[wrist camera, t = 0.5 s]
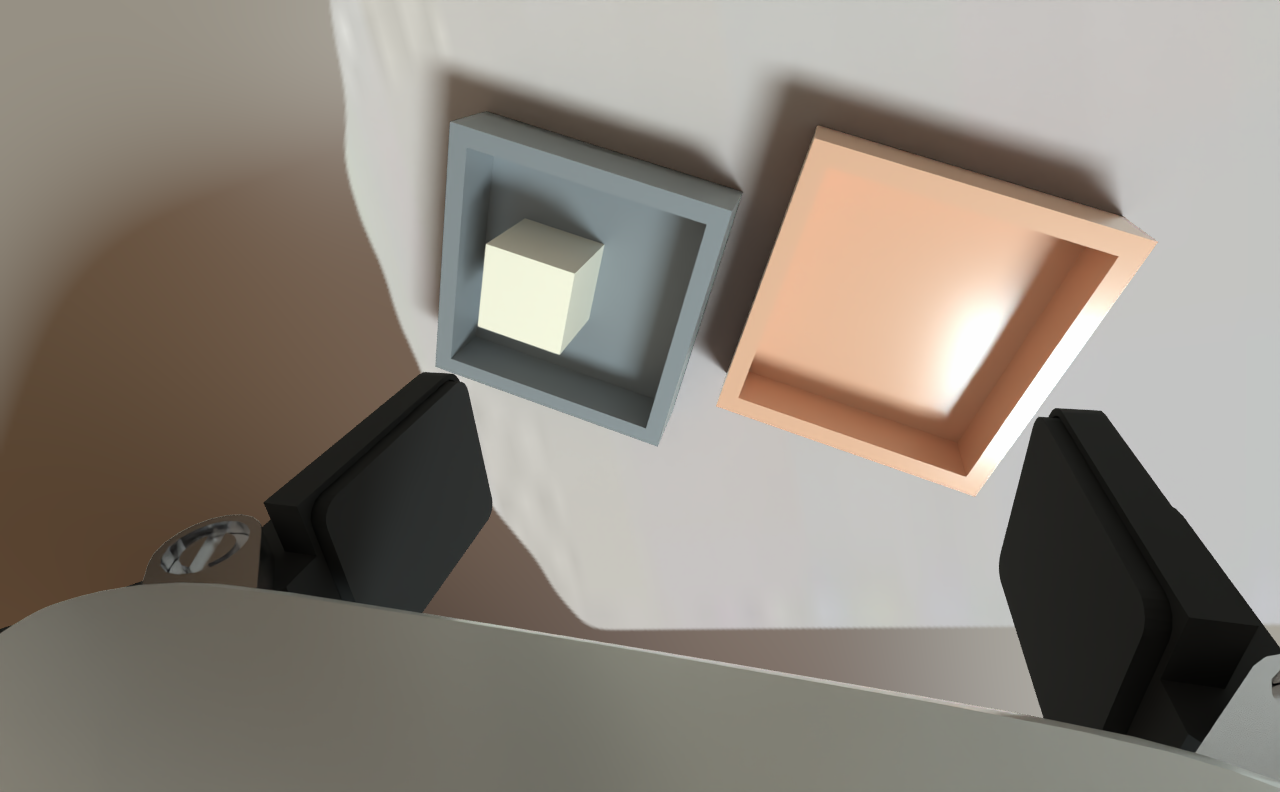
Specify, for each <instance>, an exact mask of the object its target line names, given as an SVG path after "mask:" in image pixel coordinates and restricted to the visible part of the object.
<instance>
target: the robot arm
mask: <svg viewBox="0 0 1280 792" xmlns="http://www.w3.org/2000/svg"><path fill="white" fill-rule="evenodd" d="M264 504H265V507H266V509H267V511H268V514H269V516H270V519H271V520H270V521H269V522H268V523H266V524H265V525H264V526H263V527H261V524H260V522H259V521H258V520H256V519H255V518H254V517H251V516H246V515H226V516H222V517H217V518H212V519H209V520H207V521H204V522H201V523H198V524H195V525H194V526H191V527H189V528H187V529H185V530H183V531H182V532H180V533H178V534H177V535H175V536H174V537H172V538H171V539H169V540H168V541H166V542H165V543H164V544H163V545H162V546H161V547H160V548H159V549H158V550H157V551H156V552H155V553H154V554H153V556H152V558H151V560H150V561H149V563H148V566H147V569H146V573H145V576H144V579H143V581H141V582H139V583H135V584H133V585H130V586H127V587H124V588H118V589H112V590H106V591H100V592H96V593H92V594H88V595H84V596H80V597H76V598H73V599H70V600H66V601H63V602H60V603H56V604H53V605H51V606H48V607H46V608H43V609H41V610H39V611H37V612H35V613H33V614H31V615H30V616H28V617H26V618H25V619H23V620H21V621H19V622H18V623H16V624H14V625H12V626H8V627H5V628H2V629H0V792H1280V647H1279V646H1278V645H1277V643H1276V642H1275V640H1274V639H1273V638H1272V637H1271V635H1270V634H1269V632H1268V631H1267V630H1266V628H1265V627H1264V625H1263V624H1262V623H1261V621H1260V620H1259V619H1258V617H1257V616H1256V615H1255V613H1254V612H1253V611H1252V609H1251V608H1250V606H1249V605H1248V604H1247V602H1246V601H1245V600H1244V598H1243V597H1242V596H1241V594H1240V593H1239V591H1238V590H1237V589H1236V587H1235V586H1234V585H1233V583H1232V582H1231V581H1230V579H1229V578H1228V577H1227V575H1226V574H1225V572H1224V571H1223V570H1222V568H1221V567H1220V566H1219V564H1218V563H1217V562H1216V560H1215V559H1214V558H1213V556H1212V555H1211V553H1210V552H1209V551H1208V549H1207V548H1206V547H1205V545H1204V544H1203V543H1202V541H1201V540H1200V538H1199V537H1198V536H1197V534H1196V533H1195V532H1194V530H1193V529H1192V528H1191V526H1190V525H1189V524H1188V522H1187V521H1186V519H1185V518H1184V517H1183V515H1181V514H1180V513H1179V512H1178V511H1177V510H1176V509H1175V508H1173V507H1172V506H1171V504H1170V503H1169V502H1168V500H1167V499H1166V497H1165V496H1164V495H1163V493H1162V492H1161V491H1160V489H1159V488H1158V486H1157V485H1156V484H1155V482H1154V481H1153V480H1152V478H1151V477H1150V475H1149V474H1148V473H1147V471H1146V470H1145V469H1144V467H1143V466H1142V464H1141V463H1140V462H1139V460H1138V459H1137V458H1136V456H1135V455H1134V453H1133V452H1132V451H1131V449H1130V448H1129V447H1128V445H1127V444H1126V442H1125V441H1124V440H1123V438H1122V437H1121V436H1120V434H1119V433H1118V431H1117V430H1116V429H1115V427H1114V426H1113V425H1112V423H1111V422H1110V420H1109V419H1108V418H1107V416H1106V415H1105V414H1104V413H1103V412H1102V411H1095V410H1078V409H1060V408H1055V409H1054V410H1052V412H1051V413H1050V415H1049V417H1038V418H1037V419H1036V421H1035V423H1034V426H1033V429H1032V433H1031V437H1030V441H1029V445H1028V449H1027V452H1026V456H1025V460H1024V464H1023V468H1022V472H1021V476H1020V480H1019V484H1018V488H1017V492H1016V495H1015V499H1014V503H1013V507H1012V511H1011V515H1010V519H1009V523H1008V527H1007V531H1006V534H1005V538H1004V542H1003V546H1002V550H1001V554H1000V559H999V574H1000V580H1001V583H1002V587H1003V590H1004V593H1005V596H1006V599H1007V603H1008V606H1009V609H1010V612H1011V615H1012V619H1013V622H1014V625H1015V628H1016V631H1017V635H1018V638H1019V641H1020V644H1021V647H1022V650H1023V654H1024V657H1025V660H1026V663H1027V667H1028V670H1029V673H1030V676H1031V679H1032V682H1033V686H1034V689H1035V692H1036V695H1037V698H1038V702H1039V705H1040V708H1041V711H1042V714H1043V718H1039V717H1034V716H1030V715H1024V714H1020V713H1015V712H1010V711H1005V710H998V709H992V708H986V707H980V706H974V705H969V704H963V703H957V702H951V701H946V700H940V699H935V698H929V697H923V696H917V695H912V694H906V693H900V692H894V691H889V690H882V689H877V688H871V687H865V686H859V685H853V684H848V683H841V682H836V681H829V680H824V679H818V678H812V677H806V676H800V675H795V674H789V673H783V672H777V671H771V670H765V669H760V668H754V667H747V666H742V665H736V664H730V663H724V662H718V661H712V660H706V659H701V658H695V657H688V656H682V655H676V654H670V653H664V652H658V651H652V650H646V649H640V648H634V647H628V646H622V645H616V644H610V643H604V642H597V641H592V640H586V639H580V638H573V637H567V636H561V635H555V634H549V633H543V632H537V631H531V630H524V629H519V628H512V627H506V626H500V625H494V624H487V623H481V622H475V621H468V620H461V619H456V618H449V617H443V616H437V615H431V614H424V613H422V612H423V611H424V609H425V608H426V607H427V605H428V604H429V602H430V601H431V600H432V598H433V597H434V595H435V594H436V592H437V591H438V590H439V588H440V587H441V585H442V584H443V582H444V581H445V580H446V578H447V577H448V575H449V574H450V572H451V571H452V570H453V568H454V567H455V566H456V564H457V563H458V561H459V560H460V559H461V557H462V556H463V554H464V553H465V552H466V550H467V549H468V547H469V546H470V544H471V543H472V542H473V540H474V539H475V537H476V536H477V535H478V533H479V531H480V530H481V529H482V527H483V526H484V525H485V523H486V522H487V521H488V519H489V517H490V514H491V511H492V497H491V492H490V488H489V483H488V479H487V474H486V470H485V465H484V461H483V456H482V451H481V447H480V442H479V438H478V433H477V429H476V424H475V420H474V415H473V411H472V406H471V402H470V397H469V393H468V389H467V387H466V385H465V384H464V383H463V382H460V381H459V379H458V378H457V376H455V375H454V374H447V373H430V372H423V373H421V374H419V375H418V376H417V377H416V378H414V379H413V380H412V381H411V382H409V383H408V384H407V385H406V386H405V387H403V388H402V389H401V390H400V391H399V392H397V393H396V394H395V395H394V396H392V397H391V398H390V399H389V400H388V401H386V402H385V403H384V404H383V405H381V406H380V407H379V408H378V409H377V410H375V411H374V412H373V413H372V414H371V415H369V416H368V417H367V418H366V419H364V420H363V421H362V422H361V423H360V424H358V425H357V426H356V427H355V428H354V429H352V430H351V431H350V432H349V433H347V434H346V435H345V436H344V437H343V438H341V439H340V440H339V441H338V442H337V443H335V444H334V445H333V446H332V447H330V448H329V449H328V450H327V451H325V452H324V453H323V454H322V455H321V456H319V457H318V458H317V459H316V460H315V461H313V462H312V463H311V464H310V465H308V466H307V467H306V468H305V469H304V470H302V471H301V472H300V473H299V474H297V475H296V476H295V477H294V478H293V479H291V480H290V481H289V482H288V483H287V484H285V485H284V486H283V487H282V488H280V489H279V490H278V491H277V492H276V493H274V494H273V495H272V496H271V497H270V498H268V499H267V500H266V501H265V502H264Z"/></svg>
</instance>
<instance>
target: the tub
mask: <svg viewBox="0 0 1280 792" xmlns="http://www.w3.org/2000/svg"><path fill="white" fill-rule="evenodd" d="M1157 243H1158V242H1157V241H1156V240H1155V239H1153V238H1152V237H1151V236H1149V235H1148V234H1147V233H1145V232H1144V231H1142V230H1141V229H1140V228H1138V227H1137V226H1136V225H1134V224H1133V223H1132V222H1130V221H1129V220H1127V219H1126V218H1125V217H1123V216H1120V215H1116V214H1113V213H1110V212H1106V211H1103V210H1100V209H1096V208H1093V207H1090V206H1086V205H1083V204H1080V203H1076V202H1073V201H1070V200H1066V199H1063V198H1060V197H1056V196H1053V195H1050V194H1046V193H1043V192H1040V191H1036V190H1033V189H1030V188H1026V187H1023V186H1020V185H1016V184H1013V183H1010V182H1006V181H1003V180H1000V179H996V178H993V177H990V176H986V175H983V174H980V173H976V172H973V171H970V170H966V169H963V168H960V167H956V166H953V165H950V164H946V163H943V162H940V161H936V160H933V159H930V158H926V157H923V156H920V155H916V154H913V153H910V152H906V151H903V150H900V149H896V148H893V147H890V146H886V145H883V144H880V143H876V142H873V141H870V140H866V139H863V138H860V137H856V136H853V135H850V134H846V133H843V132H840V131H836V130H833V129H830V128H826V127H823V126H820V125H817V127H816V130H815V133H814V135H813V138H812V141H811V143H810V146H809V149H808V152H807V154H806V157H805V160H804V163H803V165H802V168H801V171H800V174H799V176H798V179H797V182H796V185H795V187H794V190H793V193H792V196H791V198H790V201H789V204H788V207H787V209H786V212H785V215H784V217H783V220H782V223H781V226H780V228H779V231H778V234H777V237H776V239H775V242H774V245H773V248H772V250H771V253H770V256H769V259H768V261H767V264H766V267H765V270H764V272H763V275H762V278H761V280H760V283H759V286H758V289H757V291H756V294H755V297H754V300H753V302H752V305H751V308H750V311H749V313H748V316H747V319H746V322H745V324H744V327H743V330H742V333H741V335H740V338H739V341H738V344H737V346H736V349H735V352H734V354H733V357H732V360H731V363H730V365H729V368H728V371H727V374H726V377H725V380H724V383H723V386H722V389H721V392H720V396H719V399H718V402H717V405H716V406H717V407H720V408H723V409H726V410H729V411H731V412H734V413H737V414H740V415H743V416H746V417H749V418H751V419H754V420H757V421H760V422H763V423H766V424H769V425H772V426H774V427H777V428H780V429H783V430H786V431H789V432H792V433H794V434H797V435H800V436H803V437H806V438H809V439H812V440H814V441H817V442H820V443H823V444H826V445H829V446H832V447H834V448H837V449H840V450H843V451H846V452H849V453H852V454H854V455H857V456H860V457H863V458H866V459H869V460H872V461H874V462H877V463H880V464H883V465H886V466H889V467H892V468H894V469H897V470H900V471H903V472H906V473H909V474H912V475H915V476H917V477H920V478H923V479H926V480H929V481H932V482H935V483H937V484H940V485H943V486H946V487H949V488H952V489H955V490H957V491H960V492H963V493H966V494H969V495H972V496H976V495H977V493H978V492H979V491H980V489H981V488H982V486H983V485H984V484H985V482H986V481H987V479H988V478H989V477H990V475H991V474H992V472H993V471H994V470H995V468H996V467H997V465H998V464H999V463H1000V461H1001V460H1002V459H1003V457H1004V456H1005V454H1006V453H1007V452H1008V450H1009V449H1010V447H1011V446H1012V445H1013V443H1014V442H1015V440H1016V439H1017V438H1018V436H1019V435H1020V433H1021V432H1022V431H1023V429H1024V428H1025V426H1026V425H1027V424H1028V422H1029V421H1030V420H1031V418H1032V417H1033V415H1034V414H1035V413H1036V411H1037V410H1038V408H1039V407H1040V406H1041V404H1042V403H1043V401H1044V400H1045V399H1046V397H1047V396H1048V394H1049V393H1050V392H1051V390H1052V389H1053V387H1054V386H1055V385H1056V383H1057V382H1058V381H1059V379H1060V378H1061V376H1062V375H1063V374H1064V372H1065V371H1066V369H1067V368H1068V367H1069V365H1070V364H1071V362H1072V361H1073V360H1074V358H1075V357H1076V355H1077V354H1078V353H1079V351H1080V350H1081V349H1082V347H1083V346H1084V344H1085V343H1086V342H1087V340H1088V339H1089V337H1090V336H1091V335H1092V333H1093V332H1094V330H1095V329H1096V328H1097V326H1098V325H1099V323H1100V322H1101V321H1102V319H1103V318H1104V316H1105V315H1106V314H1107V312H1108V311H1109V310H1110V308H1111V307H1112V305H1113V304H1114V303H1115V301H1116V300H1117V298H1118V297H1119V296H1120V294H1121V293H1122V291H1123V290H1124V289H1125V287H1126V286H1127V284H1128V283H1129V282H1130V280H1131V279H1132V277H1133V276H1134V275H1135V273H1136V272H1137V271H1138V269H1139V268H1140V266H1141V265H1142V264H1143V262H1144V261H1145V259H1146V258H1147V257H1148V255H1149V254H1150V252H1151V251H1152V250H1153V248H1154V247H1155V245H1156V244H1157Z"/></svg>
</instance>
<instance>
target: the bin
mask: <svg viewBox="0 0 1280 792" xmlns="http://www.w3.org/2000/svg"><path fill="white" fill-rule="evenodd" d="M742 193H743V192H741V191H738V190H735V189H732V188H729V187H726V186H722V185H719V184H716V183H713V182H710V181H706V180H703V179H700V178H697V177H694V176H691V175H687V174H684V173H681V172H678V171H675V170H671V169H668V168H665V167H662V166H659V165H656V164H652V163H649V162H646V161H643V160H640V159H636V158H633V157H630V156H627V155H624V154H621V153H617V152H614V151H611V150H608V149H605V148H601V147H598V146H595V145H592V144H589V143H586V142H582V141H579V140H576V139H573V138H570V137H566V136H563V135H560V134H557V133H554V132H550V131H547V130H544V129H541V128H538V127H535V126H531V125H528V124H525V123H522V122H519V121H515V120H512V119H509V118H506V117H503V116H500V115H496V114H493V113H490V112H487V111H486V112H482V113H479V114H475V115H472V116H468V117H465V118H461V119H457V120H454V121H450V130H449V147H448V164H447V181H446V198H445V215H444V231H443V248H442V265H441V282H440V299H439V316H438V332H437V349H436V366H435V367H438V368H441V369H443V370H446V371H449V372H452V373H454V374H457V375H460V376H463V377H466V378H468V379H471V380H474V381H477V382H479V383H482V384H485V385H488V386H491V387H493V388H496V389H499V390H502V391H505V392H507V393H510V394H513V395H516V396H518V397H521V398H524V399H527V400H530V401H532V402H535V403H538V404H541V405H543V406H546V407H549V408H552V409H555V410H557V411H560V412H563V413H566V414H569V415H571V416H574V417H577V418H580V419H582V420H585V421H588V422H591V423H594V424H596V425H599V426H602V427H605V428H607V429H610V430H613V431H616V432H619V433H621V434H624V435H627V436H630V437H632V438H635V439H638V440H641V441H644V442H646V443H649V444H652V445H655V446H658V444H659V442H660V440H661V437H662V435H663V433H664V430H665V428H666V426H667V423H668V421H669V418H670V416H671V414H672V411H673V408H674V405H675V402H676V399H677V395H678V392H679V389H680V386H681V383H682V380H683V377H684V374H685V370H686V367H687V364H688V361H689V358H690V355H691V352H692V349H693V346H694V342H695V339H696V336H697V333H698V330H699V327H700V324H701V321H702V317H703V314H704V311H705V308H706V305H707V302H708V299H709V296H710V293H711V289H712V286H713V283H714V280H715V277H716V274H717V271H718V268H719V265H720V261H721V258H722V255H723V252H724V249H725V246H726V243H727V240H728V236H729V233H730V230H731V227H732V224H733V221H734V218H735V215H736V212H737V208H738V205H739V202H740V199H741V196H742ZM525 218H526V219H529V220H532V221H535V222H538V223H541V224H544V225H547V226H550V227H553V228H556V229H559V230H562V231H565V232H568V233H571V234H574V235H577V236H580V237H583V238H586V239H589V240H593V241H596V242H599V243H602V244H605V245H604V249H603V254H602V259H601V264H600V269H599V273H598V278H597V283H596V288H595V293H594V297H593V302H592V307H591V312H590V317H589V320H588V321H587V322H586V323H585V325H584V326H583V327H582V328H581V330H580V331H579V332H578V333H577V334H576V336H575V337H574V338H573V339H572V341H571V342H570V343H569V344H568V345H567V347H566V348H565V349H564V350H563V352H562V353H561V354H560V355H558V354H555V353H553V352H550V351H547V350H544V349H541V348H538V347H535V346H533V345H530V344H527V343H524V342H521V341H518V340H515V339H513V338H510V337H507V336H504V335H501V334H498V333H495V332H493V331H490V330H487V329H484V328H481V327H478V319H479V309H480V299H481V289H482V279H483V269H484V259H485V249H486V244H487V243H488V242H490V241H491V240H493V239H494V238H496V237H497V236H499V235H500V234H502V233H503V232H505V231H506V230H508V229H509V228H511V227H513V226H514V225H516V224H517V223H519V222H520V221H522V220H523V219H525Z"/></svg>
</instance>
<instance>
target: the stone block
mask: <svg viewBox="0 0 1280 792" xmlns="http://www.w3.org/2000/svg"><path fill="white" fill-rule="evenodd" d="M604 245H605V244H602V243H599V242H596V241H593V240H589V239H586V238H583V237H580V236H577V235H574V234H571V233H568V232H565V231H562V230H559V229H556V228H553V227H550V226H547V225H544V224H541V223H538V222H535V221H532V220H529V219H526V218H525V219H523V220H522V221H520V222H519V223H517V224H516V225H514V226H513V227H511V228H509V229H508V230H506V231H505V232H503V233H502V234H500V235H499V236H497V237H496V238H494V239H493V240H491V241H490V242H488V243H487V244H486V249H485V259H484V269H483V279H482V289H481V299H480V309H479V319H478V327H481V328H484V329H487V330H490V331H493V332H495V333H498V334H501V335H504V336H507V337H510V338H513V339H515V340H518V341H521V342H524V343H527V344H530V345H533V346H535V347H538V348H541V349H544V350H547V351H550V352H553V353H555V354H558V355H560V354H561V353H562V352H563V350H564V349H565V348H566V347H567V345H568V344H569V343H570V342H571V341H572V339H573V338H574V337H575V336H576V334H577V333H578V332H579V331H580V330H581V328H582V327H583V326H584V325H585V323H586V322H587V321H588V320H589V317H590V312H591V307H592V302H593V297H594V293H595V288H596V283H597V278H598V273H599V269H600V264H601V259H602V254H603V249H604Z"/></svg>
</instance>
